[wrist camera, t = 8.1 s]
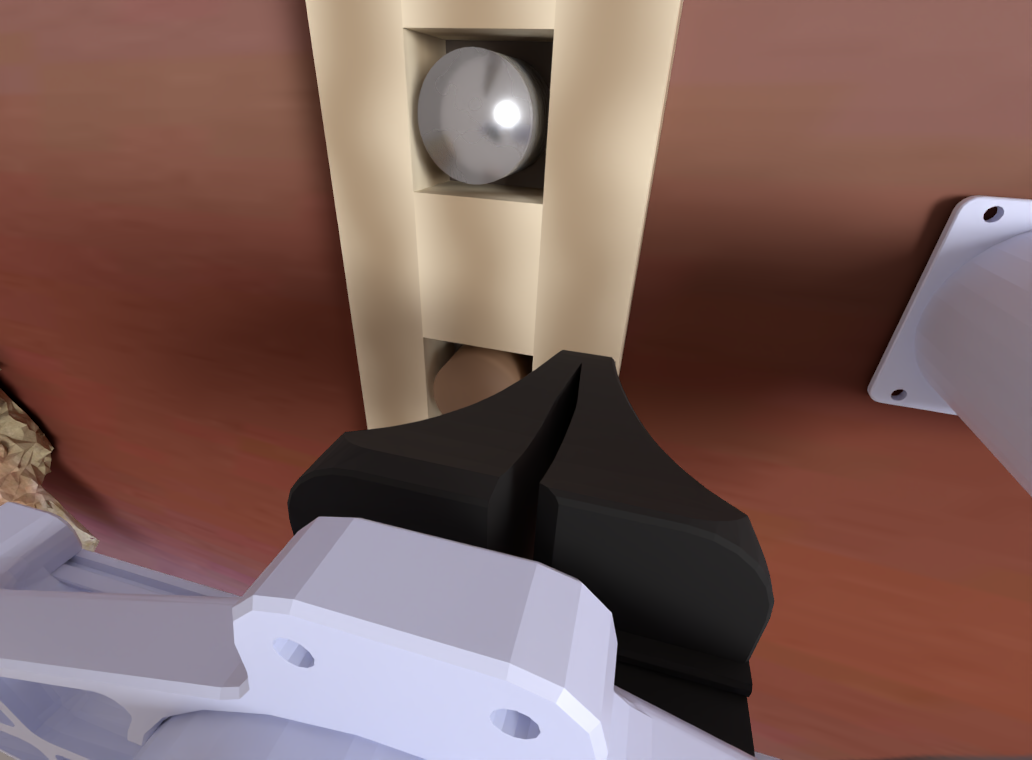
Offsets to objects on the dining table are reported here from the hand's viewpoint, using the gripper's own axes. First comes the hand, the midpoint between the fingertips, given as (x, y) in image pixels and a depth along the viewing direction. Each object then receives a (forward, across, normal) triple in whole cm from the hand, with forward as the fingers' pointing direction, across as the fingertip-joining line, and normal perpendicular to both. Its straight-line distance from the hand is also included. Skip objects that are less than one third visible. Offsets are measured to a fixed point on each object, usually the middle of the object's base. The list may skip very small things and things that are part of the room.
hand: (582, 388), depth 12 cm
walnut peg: (+10, +5, +6) cm, 13 cm away
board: (+11, +5, 0) cm, 12 cm away
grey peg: (+10, +5, -5) cm, 13 cm away
